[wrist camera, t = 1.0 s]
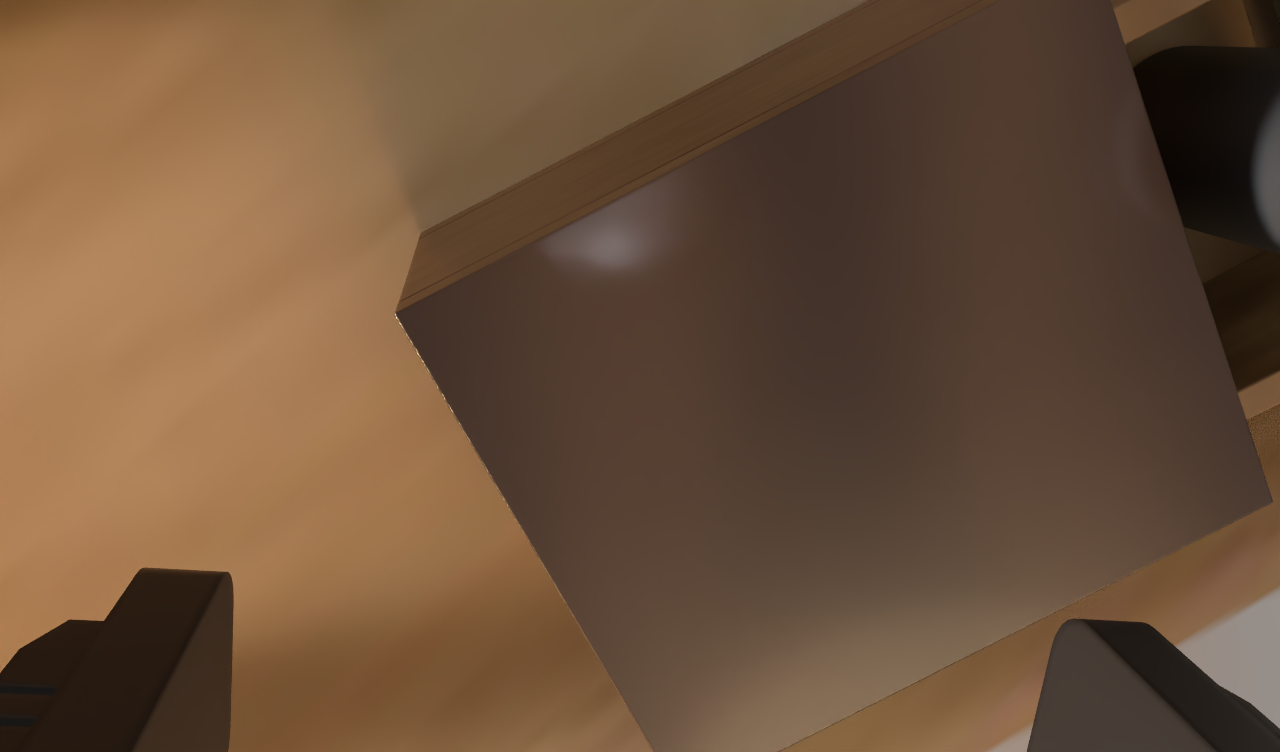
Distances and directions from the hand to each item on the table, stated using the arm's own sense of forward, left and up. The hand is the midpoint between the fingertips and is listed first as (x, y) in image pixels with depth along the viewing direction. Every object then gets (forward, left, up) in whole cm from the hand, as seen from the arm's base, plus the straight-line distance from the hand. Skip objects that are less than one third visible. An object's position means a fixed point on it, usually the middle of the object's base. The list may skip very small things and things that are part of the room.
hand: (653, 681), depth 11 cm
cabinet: (+4, +5, -21) cm, 22 cm away
